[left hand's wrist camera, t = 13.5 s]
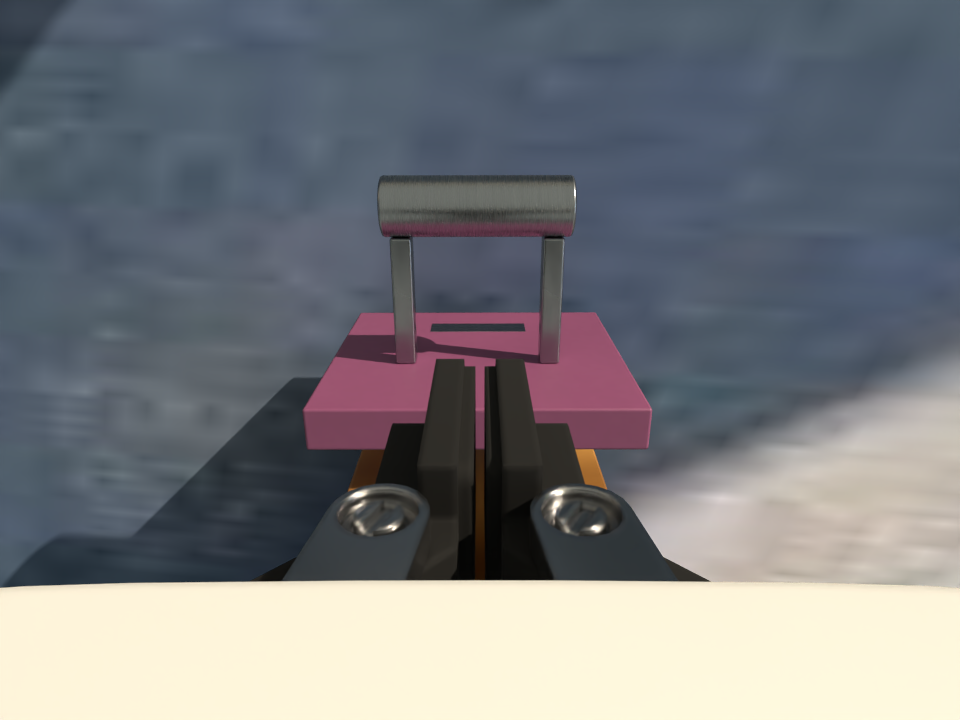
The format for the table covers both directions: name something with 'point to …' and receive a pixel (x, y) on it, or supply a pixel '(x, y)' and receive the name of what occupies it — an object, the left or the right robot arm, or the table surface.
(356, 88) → the table surface
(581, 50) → the table surface
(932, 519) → the table surface
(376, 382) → the drawer
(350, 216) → the table surface
